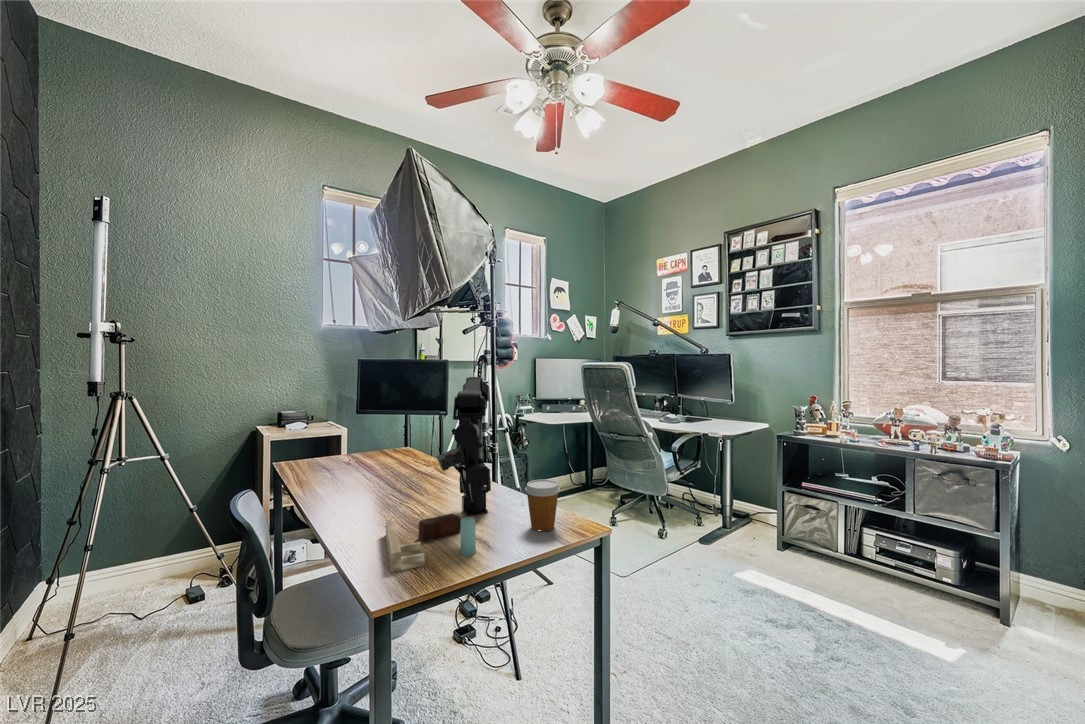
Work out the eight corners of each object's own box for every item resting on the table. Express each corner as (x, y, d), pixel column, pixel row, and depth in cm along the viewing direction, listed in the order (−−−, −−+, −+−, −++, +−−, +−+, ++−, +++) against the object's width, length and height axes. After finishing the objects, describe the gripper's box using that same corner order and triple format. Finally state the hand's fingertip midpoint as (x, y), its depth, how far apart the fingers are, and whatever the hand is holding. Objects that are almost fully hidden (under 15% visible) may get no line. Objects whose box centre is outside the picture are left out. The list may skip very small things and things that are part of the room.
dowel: (473, 548, 107) (473, 516, 107) (477, 554, 104) (477, 521, 103) (459, 551, 105) (459, 518, 105) (462, 557, 102) (462, 523, 102)
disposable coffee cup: (529, 520, 126) (529, 478, 126) (562, 522, 124) (562, 479, 124) (521, 533, 116) (521, 488, 116) (557, 535, 115) (557, 489, 114)
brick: (424, 543, 110) (424, 524, 110) (418, 538, 114) (418, 520, 114) (462, 533, 117) (462, 515, 117) (455, 528, 120) (455, 511, 120)
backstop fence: (413, 531, 118) (413, 516, 118) (424, 565, 98) (424, 548, 98) (385, 535, 115) (385, 520, 115) (391, 571, 95) (391, 553, 95)
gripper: (433, 435, 123) (434, 491, 123) (445, 448, 105) (446, 512, 106) (472, 432, 127) (472, 486, 127) (490, 444, 110) (490, 506, 110)
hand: (470, 497), depth 117 cm, fingers open, 9 cm apart
